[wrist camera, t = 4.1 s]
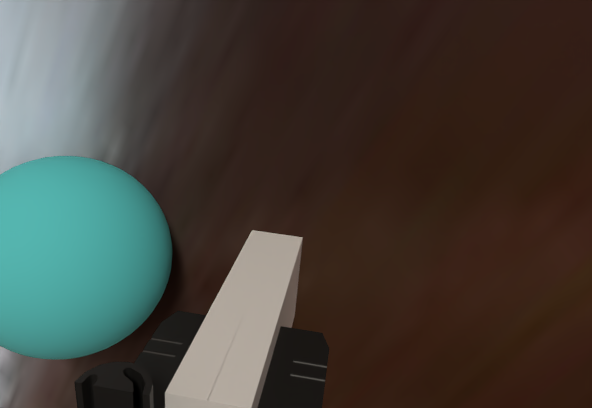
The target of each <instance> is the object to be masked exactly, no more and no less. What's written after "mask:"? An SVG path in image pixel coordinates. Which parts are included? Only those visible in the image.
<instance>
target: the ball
mask: <svg viewBox="0 0 592 408" xmlns="http://www.w3.org/2000/svg"><path fill="white" fill-rule="evenodd" d="M171 264H172V241H171V236H170V231H169V226H168V224H167V221H166V218H165V216H164V214H163V212H162V210H161V208H160V206H159V205H158V203H157V202H156V200H155V199H154V197H153V196H152V195H151V193H150V192H149V191H148V190H147V189H146V188H145V187H144V186H143V185H142V184H141V183H140V182H138V181H137V180H136V179H135V178H134V177H132V176H131V175H129V174H128V173H126V172H125V171H123V170H121V169H119V168H117V167H115V166H113V165H110V164H108V163H105V162H102V161H99V160H95V159H91V158H85V157H77V156H54V157H45V158H41V159H37V160H33V161H29V162H26V163H23V164H21V165H18V166H15V167H13V168H11V169H9V170H8V171H6V172H4V173H2V174H1V175H0V346H2V347H4V348H6V349H8V350H10V351H13V352H15V353H18V354H21V355H25V356H29V357H34V358H41V359H70V358H78V357H82V356H86V355H90V354H93V353H96V352H99V351H101V350H104V349H107V348H109V347H111V346H112V345H114V344H116V343H118V342H119V341H121V340H123V339H124V338H126V337H127V336H129V335H130V334H131V333H133V332H134V331H135V330H136V329H137V328H138V327H139V326H140V325H141V324H142V323H143V322H144V321H145V320H146V319H147V318H148V317H149V316H150V314H151V313H152V312H153V310H154V309H155V307H156V305H157V304H158V302H159V301H160V299H161V297H162V295H163V293H164V291H165V288H166V286H167V283H168V280H169V276H170V272H171Z"/></svg>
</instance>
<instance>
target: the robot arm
mask: <svg viewBox="0 0 592 408" xmlns="http://www.w3.org/2000/svg"><path fill="white" fill-rule="evenodd" d="M302 239H303V238H302V237H296V236H289V235H282V234H275V233H268V232H261V231H254V230H252V232H251V233H250V235H249V237H248V239H247V241H246V243H245V245H244V246H243V248H242V250H241V252H240V254H239V256H238V258H237V259H236V261H235V263H234V265H233V267H232V269H231V271H230V273H229V274H228V276H227V278H226V280H225V282H224V284H223V286H222V287H221V289H220V291H219V293H218V295H217V297H216V299H215V300H214V302H213V304H212V306H211V308H210V310H209V312H208V313H207V315H200V314H194V313H188V312H182V311H177V312H176V313H174V314H173V315H171V316H170V317H168V318H167V319H165V320H164V321H162V322H161V324H160V325H159V327H158V328H157V330H156V331H155V333H154V334H153V336H152V338H151V340H149V342H148V343H147V345H146V346H145V348H144V349H143V352H141V354H140V355H139V357H138V358H137V360H136V361H135V363H134V364H133V363H130V362H112V363H107V364H103V365H99V366H97V367H95V368H93V369H91V370H89V371H87V372H85V373H84V374H83V375H82V376H81V377H79V378H78V379H77V380H76V381H75V390H76V399H77V408H322V401H323V394H324V386H325V378H326V370H327V362H328V354H329V347H328V345H327V343H326V340H325V338H324V336H323V334H322V333H319V332H313V331H307V330H300V329H294V328H292V324H293V320H294V316H295V307H296V297H297V287H298V278H299V268H300V259H301V249H302Z"/></svg>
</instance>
